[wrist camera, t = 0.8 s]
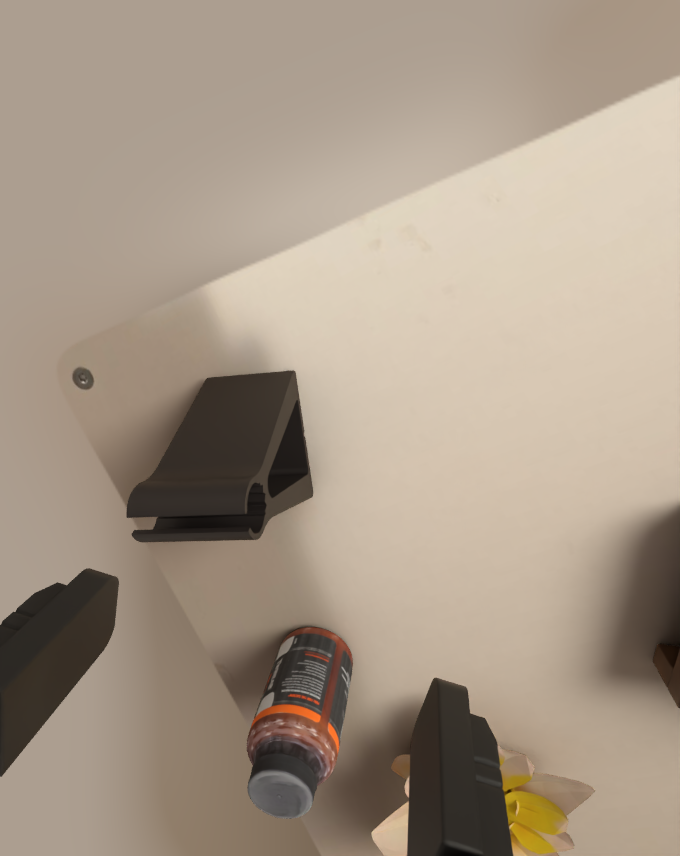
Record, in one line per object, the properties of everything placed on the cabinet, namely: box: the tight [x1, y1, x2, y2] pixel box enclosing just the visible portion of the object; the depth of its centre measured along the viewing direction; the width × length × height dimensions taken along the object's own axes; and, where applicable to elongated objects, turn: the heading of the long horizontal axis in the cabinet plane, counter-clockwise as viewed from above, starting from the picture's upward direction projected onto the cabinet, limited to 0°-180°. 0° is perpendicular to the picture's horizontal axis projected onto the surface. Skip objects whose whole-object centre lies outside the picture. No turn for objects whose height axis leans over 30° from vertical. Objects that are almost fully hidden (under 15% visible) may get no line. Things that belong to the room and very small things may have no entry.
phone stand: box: [127, 371, 313, 542], centre depth 29 cm, size 9×6×12 cm, turn 6°
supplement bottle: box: [247, 627, 353, 819], centre depth 35 cm, size 6×6×11 cm
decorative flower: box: [371, 745, 595, 856], centre depth 37 cm, size 15×11×10 cm
